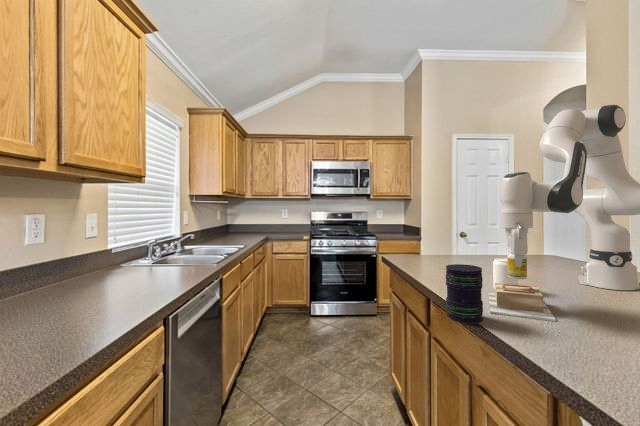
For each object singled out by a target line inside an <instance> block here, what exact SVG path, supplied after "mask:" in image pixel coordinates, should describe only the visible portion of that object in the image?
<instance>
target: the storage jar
mask: <svg viewBox="0 0 640 426" xmlns="http://www.w3.org/2000/svg"><path fill="white" fill-rule="evenodd" d="M445 270H446V271H445V286H446V295H447V296H446V298H445V302H446V303H445V307H446V318H448V319H449V320H451V321H453V322H456V323H461V324H468V325H474V324H480V323H482V322H483V319H484V318H483V313H484V307H483V306H484V303H483V300H482V288H483V287H484V286H483V280H484V279H483V273H482V272H483V268H482V267H481V266H477V265H472V264H461V263H460V264H458V263H457V264H456V263H455V264H448V265H446V266H445Z"/></svg>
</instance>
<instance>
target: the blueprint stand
mask: <svg viewBox="0 0 640 426" xmlns="http://www.w3.org/2000/svg"><path fill="white" fill-rule="evenodd" d="M494 290H495V291H494V293H493V292H488V294H487V295H488V302H489V303H488V304H489V310H490V311H489V312H490V314H492V315H493V314H494V315H500V316H509V317H515V318H516V317H517V318H525V319H531V320H533V319H534V320H542V321H549V322H556V318H555V316H554V315H553V313H552V311H551V310H550V309H549V307H548V306H547V304H546V303H545V301H544V295H543V293H542V291H540V289H539V288H538V287H537V286H535V285H524V284H518V285H512V284H500V283H495V289H494Z"/></svg>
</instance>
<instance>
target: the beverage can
mask: <svg viewBox="0 0 640 426" xmlns="http://www.w3.org/2000/svg"><path fill="white" fill-rule="evenodd" d="M492 271H493V273H492V274H493V276H492V280H493V282H492V283H493V284H492V285H493V288H492V289H494V290H495V283H500V284H512V285H519V279H512V278H509V277H508V271H507V257H506V258H503V257H502V258H501V257H499V258H494V260H493V261H492Z"/></svg>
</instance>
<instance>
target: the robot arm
mask: <svg viewBox="0 0 640 426" xmlns="http://www.w3.org/2000/svg"><path fill="white" fill-rule="evenodd" d="M626 117H627V116H626V112H625V111H624V108H623V107H621V106H620V105H617V104H608V105H606V104H605V105H603V106H600V107H599V106H598V107H594V108H593V107H592V108H589V109H584V110H579V109H575V108H567V109H564V110H561V111H560V112H558V113H556V115H554V117H553V118H552V120H551V121H550V122H549V123H548V125H547V126H546V128H545V130H544V132H543V134H542V136H541V139H540V141H539V145H538V148H539V152H540V154H542V155H543V156H544V157H545V158H546V159H548V160H550V161H553V162H555V163H563V164H565V165H564V170H563V175H562V177H561V178H560V179H558V180H554V181H545V182H537V181H534V180H533V179H532V177H531V173H530V172H528V171H521V172H514V173H508V174H506V175H504V176H503V177H502V179H501V183H500V184H501V185H500V194H499V195H500V197H499V198H500V203H501V210H500V228H503V229H504V232H505V235H506V243H507V247H508V248H509V250H510V249H511V251H512V252H513V254H514V257H515V266H516V267H522V258H523V255H525V256H527V255H528V248H529V247H528V233H529V229H533V228H534V212H538V213H540V212H541V213H545V212H546V213H548V212H549V213H559V214H560V213H561V214H570V213H572V212H574V213H575V214H578V215H579V216H580V217H581V218H582V219H583V220H584V221H585V223H586V224H587V226H588V228H589V232H590V233H589V234H590V240H591V241H590V243H591V246H590V247H591V249H590V250H589V259H588V261H587V262H586V263H585V265H583V266H582V265H581V266H580V272H581V273H582V274H579V275H577V276H578V282H579V285H580V284H581V285H583V286H584V285H586V286H591V287H595V288H599V289H605V290H606V289H607V290H615V291H635V290H636V291H637V290H640V283H639V272H638V267H637V266H636V265H635V264H634V263H632V261H633V254H632V251H631V233H630V231H629V230H628V229H627V228H626V227H624V226H622V225H620V224H617V223H616V222H615V221H614V220H613V218H612V216H639V215H640V182H639V181H637V180H635V178H634V177H633V176H632V175H631V174H630V173H629V171H628V169H627V167H626V163H625V158H624V153H623V147H622V143H621V141H620V137H619V134H618V133H620V132H621V131H622V130H623V129H624V127H625V125H626V119H627V118H626ZM585 174H586V175H587V177H588V178H589V179H591V180H594V181H597V182H600V183H601V184H602V185H603V186H604V187H598V188H597V187H595V188H586V189H584V188H583V185H584V179H585Z"/></svg>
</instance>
